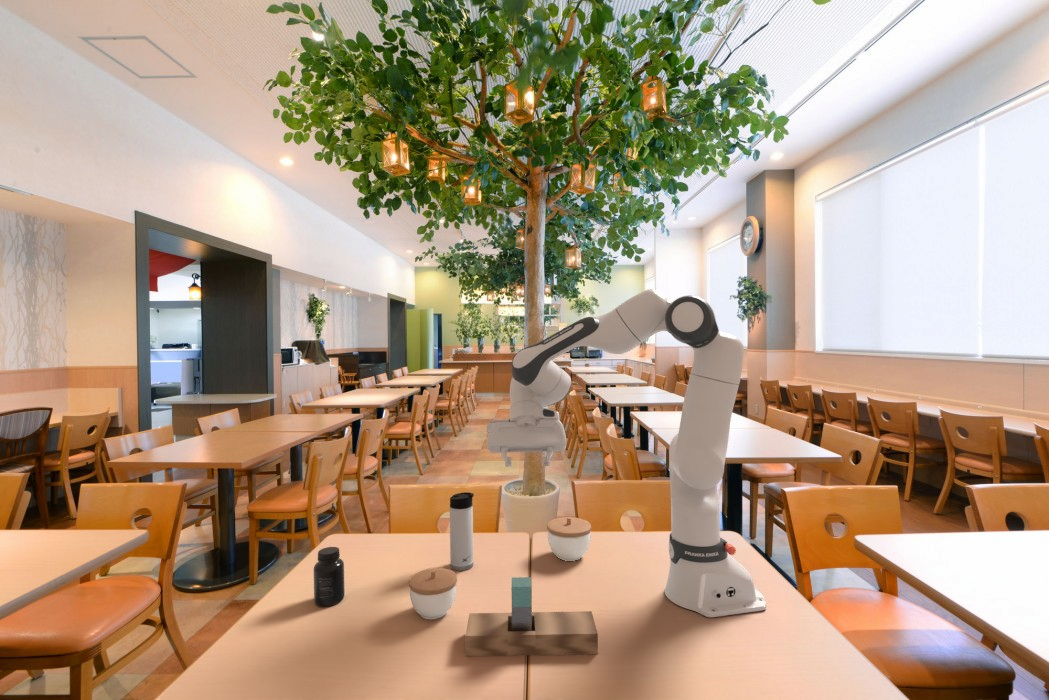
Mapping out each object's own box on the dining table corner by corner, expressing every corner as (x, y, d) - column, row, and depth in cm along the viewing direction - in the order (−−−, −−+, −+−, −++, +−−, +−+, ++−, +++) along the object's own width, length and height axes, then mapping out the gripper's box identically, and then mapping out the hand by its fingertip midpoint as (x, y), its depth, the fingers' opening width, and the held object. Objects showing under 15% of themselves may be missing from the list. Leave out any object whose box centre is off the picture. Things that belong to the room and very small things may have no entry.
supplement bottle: (350, 596, 119) (350, 547, 119) (328, 610, 112) (328, 558, 112) (330, 590, 122) (329, 542, 121) (307, 604, 115) (306, 553, 115)
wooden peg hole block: (591, 629, 104) (591, 611, 104) (597, 653, 96) (597, 633, 96) (469, 632, 104) (469, 613, 103) (465, 656, 96) (465, 636, 95)
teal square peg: (531, 634, 102) (530, 577, 102) (532, 646, 98) (531, 586, 98) (512, 634, 102) (511, 577, 101) (512, 646, 98) (511, 587, 97)
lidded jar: (439, 595, 119) (439, 556, 119) (466, 612, 111) (466, 571, 111) (400, 612, 111) (400, 571, 111) (426, 631, 104) (426, 588, 104)
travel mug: (470, 572, 131) (469, 497, 130) (447, 569, 132) (446, 496, 132) (477, 561, 137) (476, 490, 137) (455, 559, 138) (454, 489, 138)
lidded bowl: (594, 566, 133) (593, 526, 133) (548, 566, 134) (547, 526, 133) (588, 546, 146) (588, 510, 146) (546, 547, 146) (546, 510, 146)
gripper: (486, 412, 128) (484, 458, 118) (564, 411, 128) (568, 457, 118) (487, 427, 132) (486, 472, 123) (563, 425, 133) (567, 471, 123)
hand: (527, 465), depth 120 cm, fingers open, 8 cm apart
